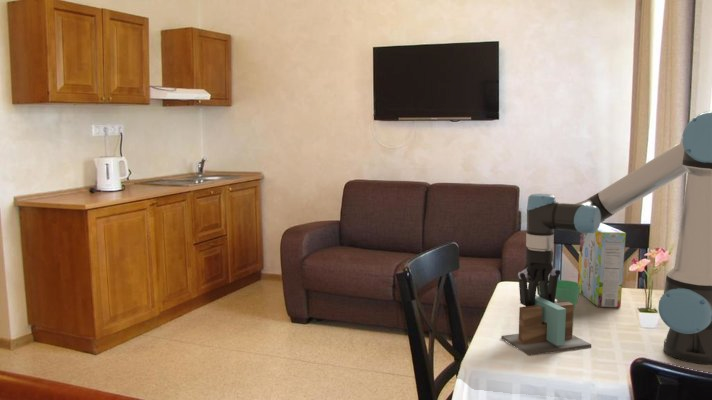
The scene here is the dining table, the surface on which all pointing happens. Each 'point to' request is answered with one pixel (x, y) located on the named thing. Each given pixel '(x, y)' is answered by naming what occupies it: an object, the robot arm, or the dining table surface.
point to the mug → (565, 291)
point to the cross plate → (553, 320)
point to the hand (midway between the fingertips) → (536, 327)
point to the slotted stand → (542, 332)
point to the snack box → (602, 266)
